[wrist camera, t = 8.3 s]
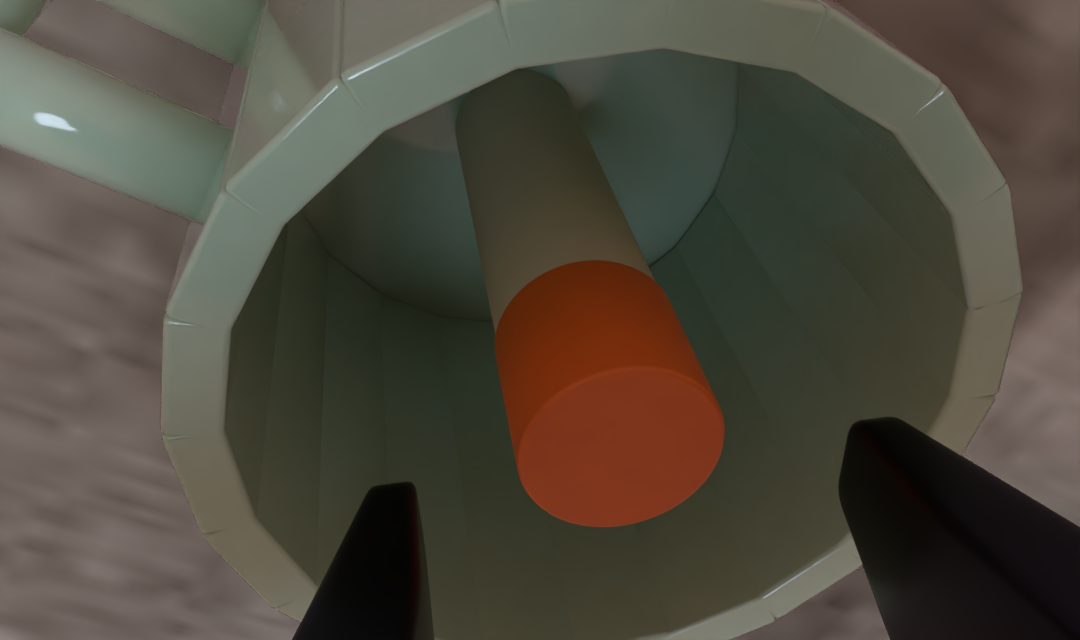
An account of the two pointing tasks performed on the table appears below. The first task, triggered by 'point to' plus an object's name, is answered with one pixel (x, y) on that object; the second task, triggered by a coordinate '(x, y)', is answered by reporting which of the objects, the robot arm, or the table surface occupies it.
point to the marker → (579, 318)
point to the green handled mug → (462, 302)
